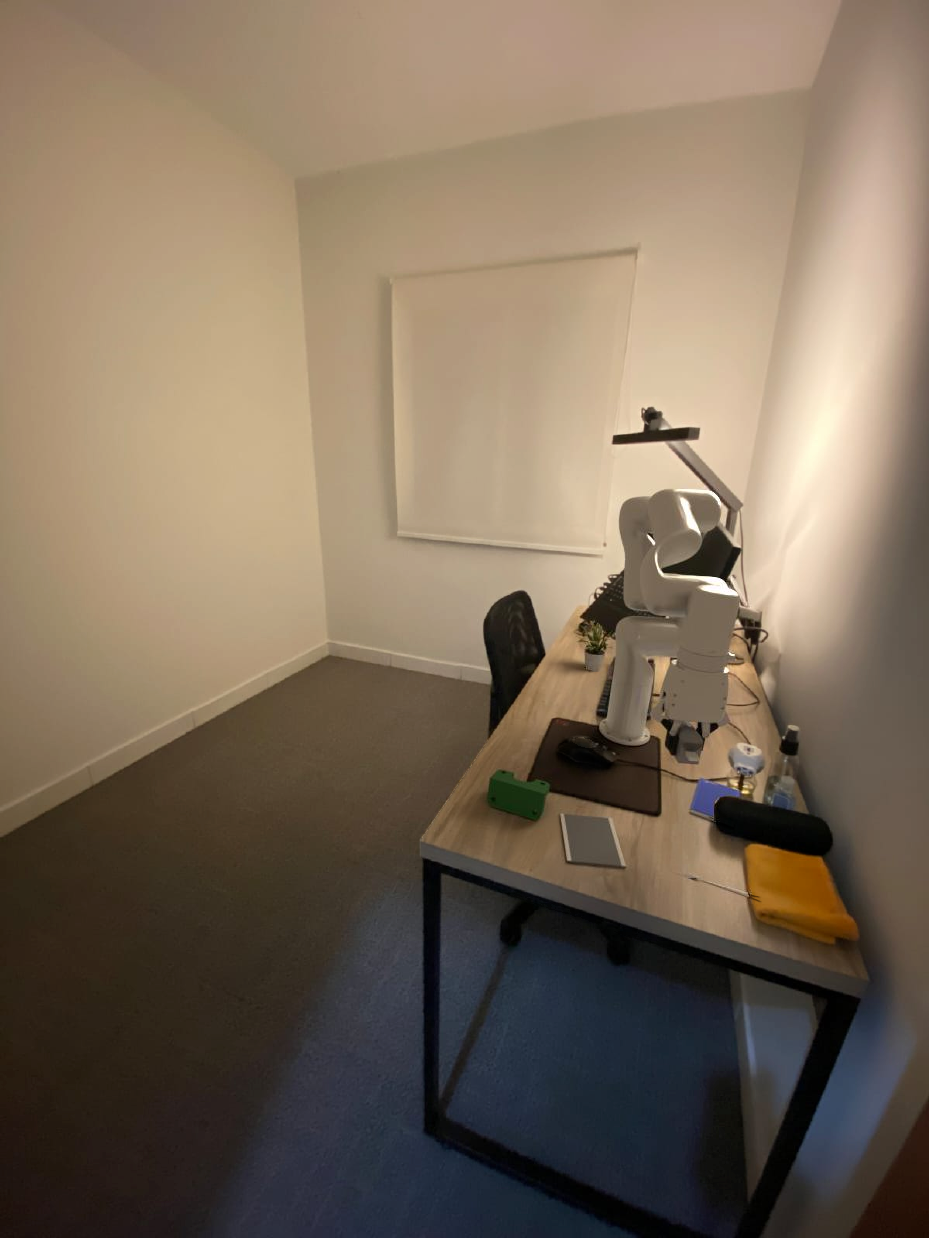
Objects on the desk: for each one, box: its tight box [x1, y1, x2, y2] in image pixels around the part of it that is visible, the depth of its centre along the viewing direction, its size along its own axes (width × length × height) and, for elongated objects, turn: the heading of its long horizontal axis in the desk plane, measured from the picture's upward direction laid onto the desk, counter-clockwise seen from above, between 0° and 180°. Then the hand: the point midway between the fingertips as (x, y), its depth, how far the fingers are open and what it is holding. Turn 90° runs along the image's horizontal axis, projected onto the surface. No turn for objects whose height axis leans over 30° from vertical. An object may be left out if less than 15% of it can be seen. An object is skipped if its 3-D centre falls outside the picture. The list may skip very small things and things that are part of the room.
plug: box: [673, 721, 703, 765], centre depth 87 cm, size 8×4×6 cm, turn 176°
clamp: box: [486, 769, 551, 821], centre depth 99 cm, size 12×6×9 cm, turn 60°
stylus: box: [669, 869, 749, 898], centre depth 83 cm, size 4×1×19 cm
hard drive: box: [689, 777, 741, 822], centre depth 102 cm, size 2×8×12 cm
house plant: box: [575, 620, 615, 672], centre depth 166 cm, size 14×14×16 cm
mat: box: [559, 813, 627, 869], centre depth 91 cm, size 12×10×1 cm
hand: (682, 751), depth 89 cm, fingers closed on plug, 3 cm apart
